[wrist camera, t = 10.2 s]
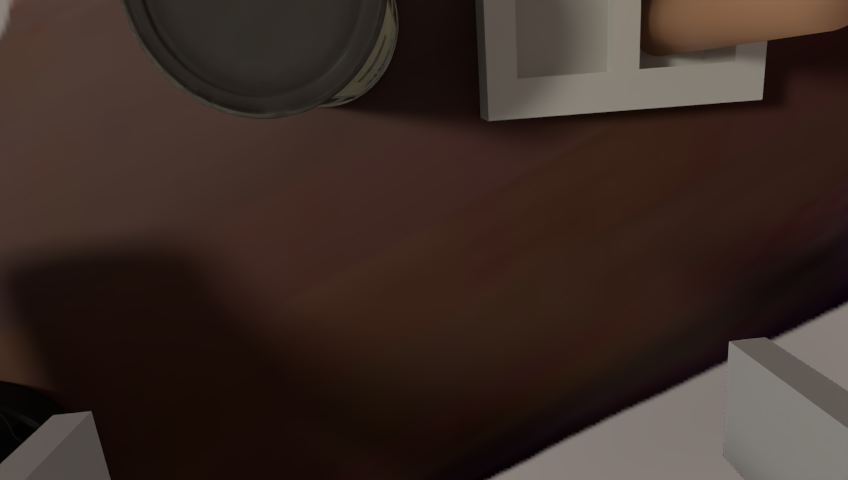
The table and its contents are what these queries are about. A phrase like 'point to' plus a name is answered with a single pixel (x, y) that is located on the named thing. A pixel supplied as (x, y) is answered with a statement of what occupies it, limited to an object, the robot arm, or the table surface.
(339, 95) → the coffee can
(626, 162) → the table surface
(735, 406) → the robot arm
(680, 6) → the pin
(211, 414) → the table surface
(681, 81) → the bore block
